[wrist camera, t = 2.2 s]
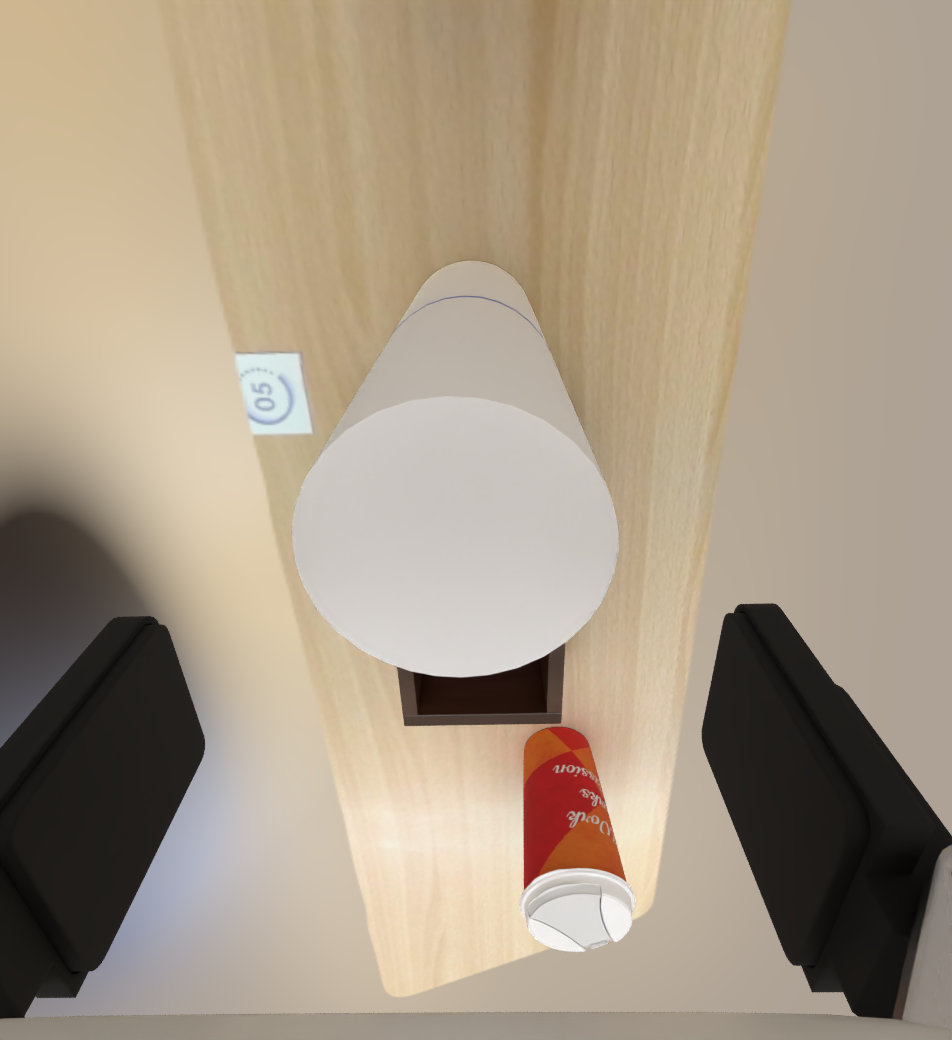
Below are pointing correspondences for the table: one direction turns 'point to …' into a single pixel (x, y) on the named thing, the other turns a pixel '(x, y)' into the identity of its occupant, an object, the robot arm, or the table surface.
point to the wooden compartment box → (486, 695)
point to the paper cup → (570, 848)
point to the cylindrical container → (458, 492)
